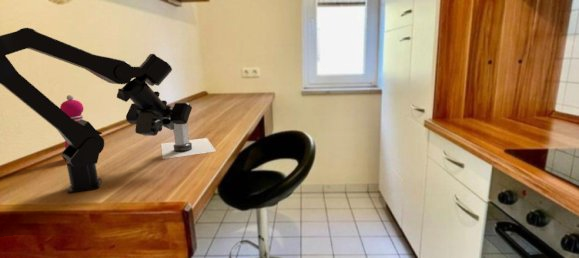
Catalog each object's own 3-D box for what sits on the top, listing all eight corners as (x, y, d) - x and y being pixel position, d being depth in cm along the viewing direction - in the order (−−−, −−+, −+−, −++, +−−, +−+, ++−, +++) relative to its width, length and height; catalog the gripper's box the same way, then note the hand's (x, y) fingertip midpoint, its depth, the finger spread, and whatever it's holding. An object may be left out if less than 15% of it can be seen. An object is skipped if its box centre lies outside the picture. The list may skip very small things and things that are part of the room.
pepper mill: (64, 162, 101) (51, 97, 97) (72, 156, 108) (60, 94, 104) (90, 159, 103) (78, 95, 99) (96, 153, 110) (86, 93, 106)
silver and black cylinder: (186, 152, 106) (182, 118, 103) (170, 151, 107) (166, 118, 104) (195, 147, 111) (191, 115, 109) (180, 147, 112) (176, 115, 110)
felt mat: (216, 152, 106) (216, 151, 105) (162, 159, 100) (162, 158, 100) (207, 138, 124) (206, 137, 124) (161, 144, 118) (161, 143, 118)
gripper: (102, 122, 87) (137, 151, 100) (165, 123, 83) (193, 152, 96) (119, 89, 93) (149, 120, 106) (179, 87, 89) (203, 120, 102)
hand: (172, 128), depth 102 cm, fingers closed
